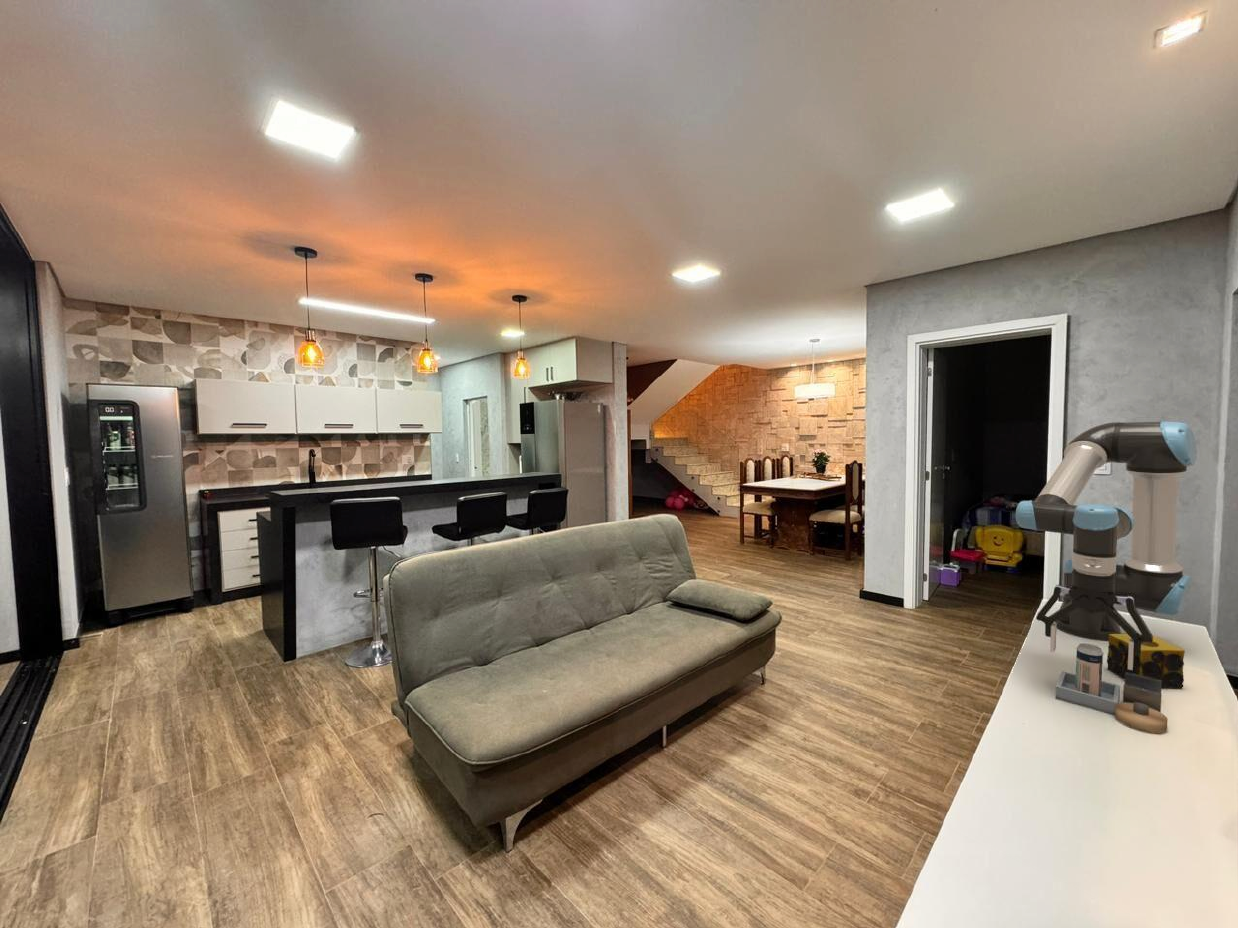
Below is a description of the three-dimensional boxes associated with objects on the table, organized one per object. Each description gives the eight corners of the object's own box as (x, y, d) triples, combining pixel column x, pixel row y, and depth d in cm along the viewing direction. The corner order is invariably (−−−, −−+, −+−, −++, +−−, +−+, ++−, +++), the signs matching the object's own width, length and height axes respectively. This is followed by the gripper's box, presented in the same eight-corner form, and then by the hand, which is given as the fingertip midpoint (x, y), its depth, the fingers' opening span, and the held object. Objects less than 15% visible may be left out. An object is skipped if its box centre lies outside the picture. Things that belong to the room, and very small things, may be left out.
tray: (1061, 682, 131) (1061, 670, 131) (1119, 697, 123) (1120, 685, 123) (1055, 698, 124) (1055, 686, 123) (1116, 715, 116) (1117, 702, 116)
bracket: (1124, 691, 126) (1125, 671, 125) (1160, 700, 121) (1161, 680, 121) (1122, 706, 119) (1123, 686, 119) (1160, 717, 115) (1161, 695, 114)
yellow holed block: (1147, 669, 136) (1149, 633, 135) (1185, 689, 126) (1187, 650, 125) (1105, 669, 137) (1106, 632, 136) (1139, 688, 127) (1141, 649, 126)
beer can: (1106, 701, 121) (1109, 651, 120) (1084, 700, 121) (1086, 651, 120) (1091, 690, 125) (1093, 642, 124) (1069, 689, 126) (1071, 642, 125)
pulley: (1116, 708, 119) (1116, 691, 118) (1166, 722, 113) (1167, 704, 113) (1113, 723, 113) (1114, 705, 113) (1167, 738, 107) (1168, 720, 107)
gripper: (1023, 565, 127) (1021, 648, 129) (1171, 586, 109) (1166, 682, 111) (1028, 558, 132) (1026, 638, 134) (1171, 577, 114) (1166, 669, 116)
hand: (1090, 658), depth 123 cm, fingers open, 13 cm apart
